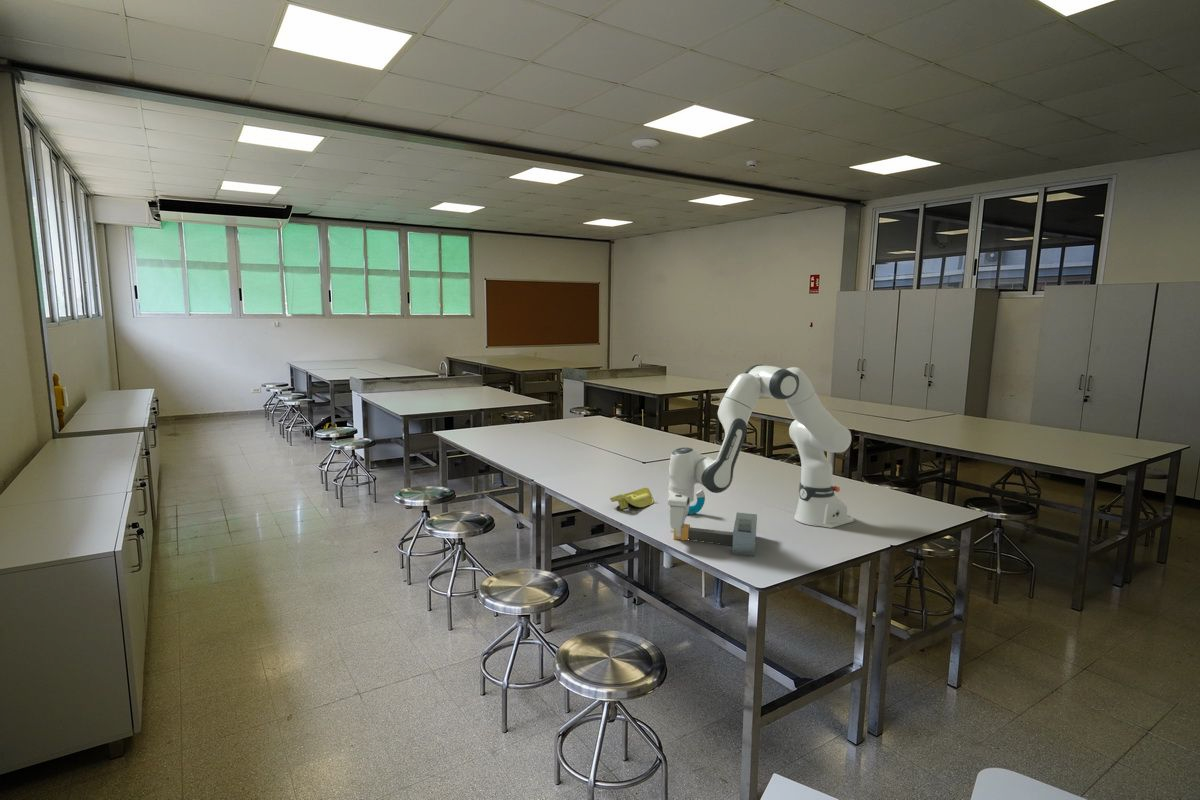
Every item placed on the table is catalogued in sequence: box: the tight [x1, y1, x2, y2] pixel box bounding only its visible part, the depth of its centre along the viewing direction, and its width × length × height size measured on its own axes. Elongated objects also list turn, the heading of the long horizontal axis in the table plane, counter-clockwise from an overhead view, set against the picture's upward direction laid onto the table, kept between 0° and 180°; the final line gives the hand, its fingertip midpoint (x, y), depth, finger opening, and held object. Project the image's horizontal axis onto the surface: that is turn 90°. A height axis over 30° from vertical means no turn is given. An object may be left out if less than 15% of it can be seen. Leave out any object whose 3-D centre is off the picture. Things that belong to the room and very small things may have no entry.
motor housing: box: [731, 512, 758, 558], centre depth 204 cm, size 7×20×10 cm, turn 164°
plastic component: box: [609, 487, 655, 510], centre depth 246 cm, size 20×7×10 cm
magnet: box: [687, 488, 706, 515], centre depth 237 cm, size 12×3×10 cm, turn 73°
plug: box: [670, 523, 733, 546], centre depth 208 cm, size 21×4×4 cm, turn 74°
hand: (679, 532), depth 210 cm, fingers closed on plug, 4 cm apart
